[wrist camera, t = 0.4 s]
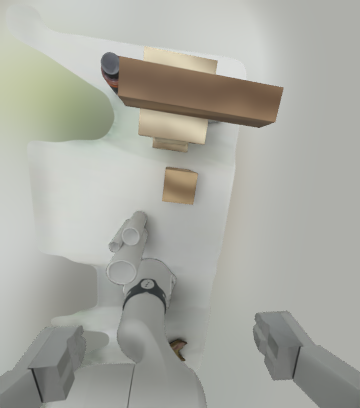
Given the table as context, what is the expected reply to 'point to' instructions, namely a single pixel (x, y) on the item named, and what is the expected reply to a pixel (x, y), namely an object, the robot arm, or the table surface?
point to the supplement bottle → (110, 70)
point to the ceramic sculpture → (178, 348)
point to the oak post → (179, 185)
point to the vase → (127, 250)
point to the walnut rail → (196, 93)
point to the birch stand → (167, 122)
